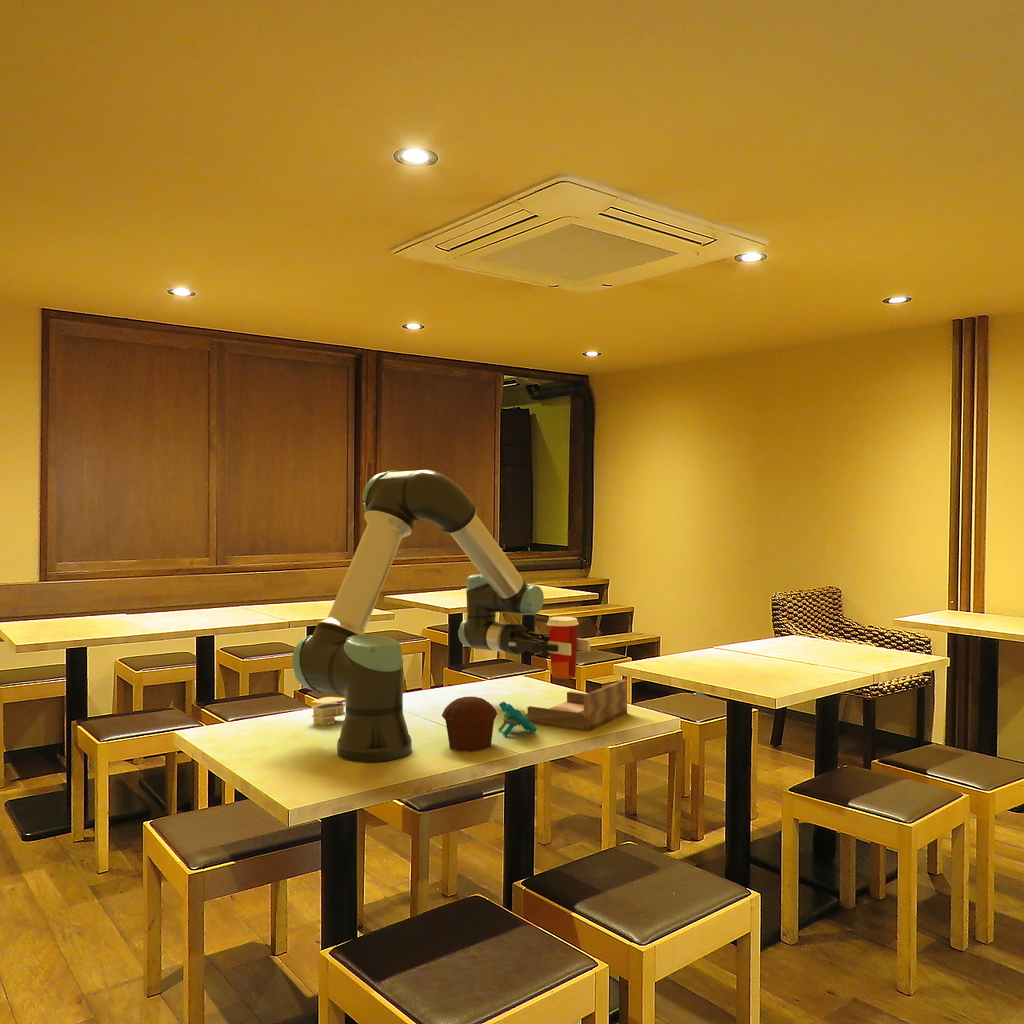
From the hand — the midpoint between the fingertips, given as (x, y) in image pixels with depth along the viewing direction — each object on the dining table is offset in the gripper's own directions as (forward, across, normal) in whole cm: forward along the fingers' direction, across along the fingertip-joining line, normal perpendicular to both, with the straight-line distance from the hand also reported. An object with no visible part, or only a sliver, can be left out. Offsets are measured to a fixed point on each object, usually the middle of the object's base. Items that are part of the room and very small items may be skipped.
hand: (579, 647), depth 202 cm
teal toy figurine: (-2, +20, -17) cm, 26 cm away
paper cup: (-5, 0, -8) cm, 9 cm away
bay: (-1, 0, -17) cm, 17 cm away
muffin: (-3, +33, -17) cm, 38 cm away
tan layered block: (-43, +41, -17) cm, 62 cm away
